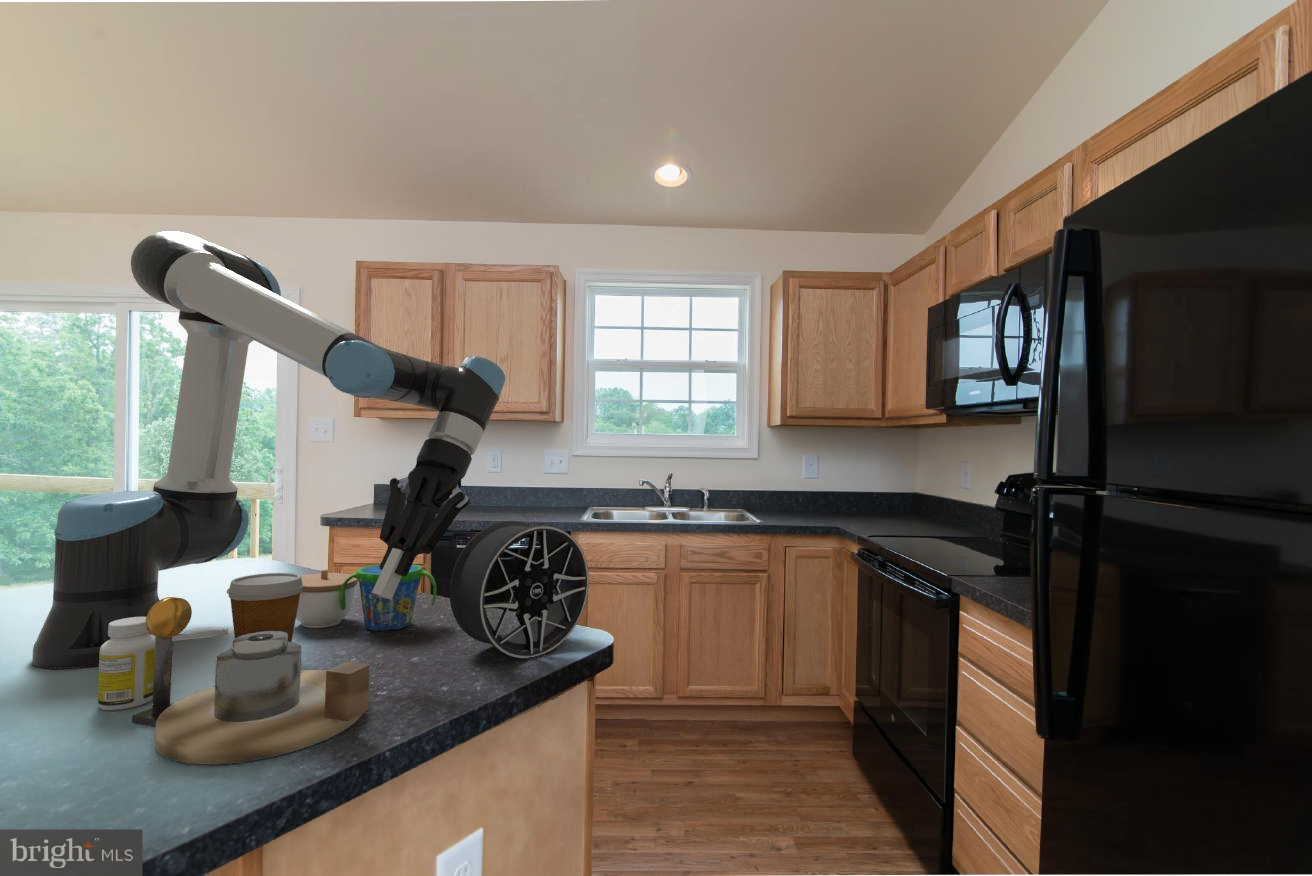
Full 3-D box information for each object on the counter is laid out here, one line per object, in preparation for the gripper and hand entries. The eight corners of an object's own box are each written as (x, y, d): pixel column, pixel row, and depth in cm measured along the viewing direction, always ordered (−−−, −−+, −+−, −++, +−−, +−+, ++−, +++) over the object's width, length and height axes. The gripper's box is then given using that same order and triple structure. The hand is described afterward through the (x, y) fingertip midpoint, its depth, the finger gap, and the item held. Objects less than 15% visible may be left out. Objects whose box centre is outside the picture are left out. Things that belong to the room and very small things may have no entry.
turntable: (104, 746, 62) (107, 677, 62) (272, 678, 82) (275, 625, 82) (279, 781, 57) (282, 705, 57) (415, 698, 76) (417, 642, 76)
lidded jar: (332, 611, 115) (335, 561, 115) (368, 622, 110) (371, 569, 110) (273, 624, 106) (276, 570, 106) (309, 636, 101) (312, 579, 101)
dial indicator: (127, 724, 68) (133, 600, 68) (188, 700, 74) (193, 587, 75) (169, 731, 66) (175, 605, 67) (227, 706, 73) (232, 591, 73)
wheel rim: (477, 672, 86) (482, 530, 87) (446, 656, 93) (450, 524, 93) (587, 643, 101) (590, 521, 101) (553, 631, 107) (557, 516, 107)
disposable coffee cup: (283, 647, 95) (286, 569, 95) (313, 660, 89) (316, 578, 90) (212, 663, 87) (215, 579, 87) (240, 679, 82) (243, 589, 82)
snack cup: (440, 616, 114) (441, 562, 114) (429, 633, 103) (431, 572, 103) (350, 620, 111) (351, 563, 111) (330, 637, 100) (331, 575, 101)
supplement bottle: (145, 690, 77) (148, 612, 77) (164, 700, 74) (168, 619, 75) (89, 704, 73) (93, 622, 73) (107, 716, 70) (111, 629, 70)
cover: (195, 716, 65) (198, 643, 65) (260, 688, 73) (263, 624, 73) (254, 726, 63) (257, 651, 63) (315, 697, 71) (318, 630, 71)
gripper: (496, 465, 96) (434, 613, 86) (425, 451, 100) (358, 592, 90) (476, 443, 90) (407, 600, 80) (401, 429, 93) (326, 578, 83)
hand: (381, 596), depth 85 cm, fingers closed
